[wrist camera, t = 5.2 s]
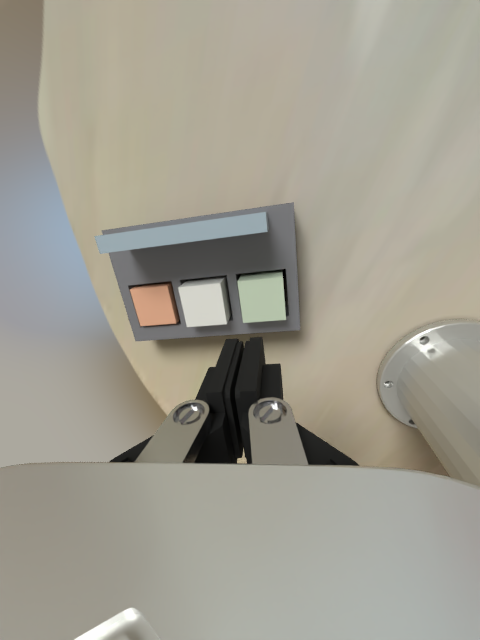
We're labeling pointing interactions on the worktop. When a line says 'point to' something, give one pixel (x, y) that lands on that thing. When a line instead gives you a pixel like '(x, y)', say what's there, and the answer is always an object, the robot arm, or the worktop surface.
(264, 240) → the keypad
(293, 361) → the worktop surface
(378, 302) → the worktop surface
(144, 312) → the terracotta key
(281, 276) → the sage key
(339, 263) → the worktop surface
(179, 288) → the white key
